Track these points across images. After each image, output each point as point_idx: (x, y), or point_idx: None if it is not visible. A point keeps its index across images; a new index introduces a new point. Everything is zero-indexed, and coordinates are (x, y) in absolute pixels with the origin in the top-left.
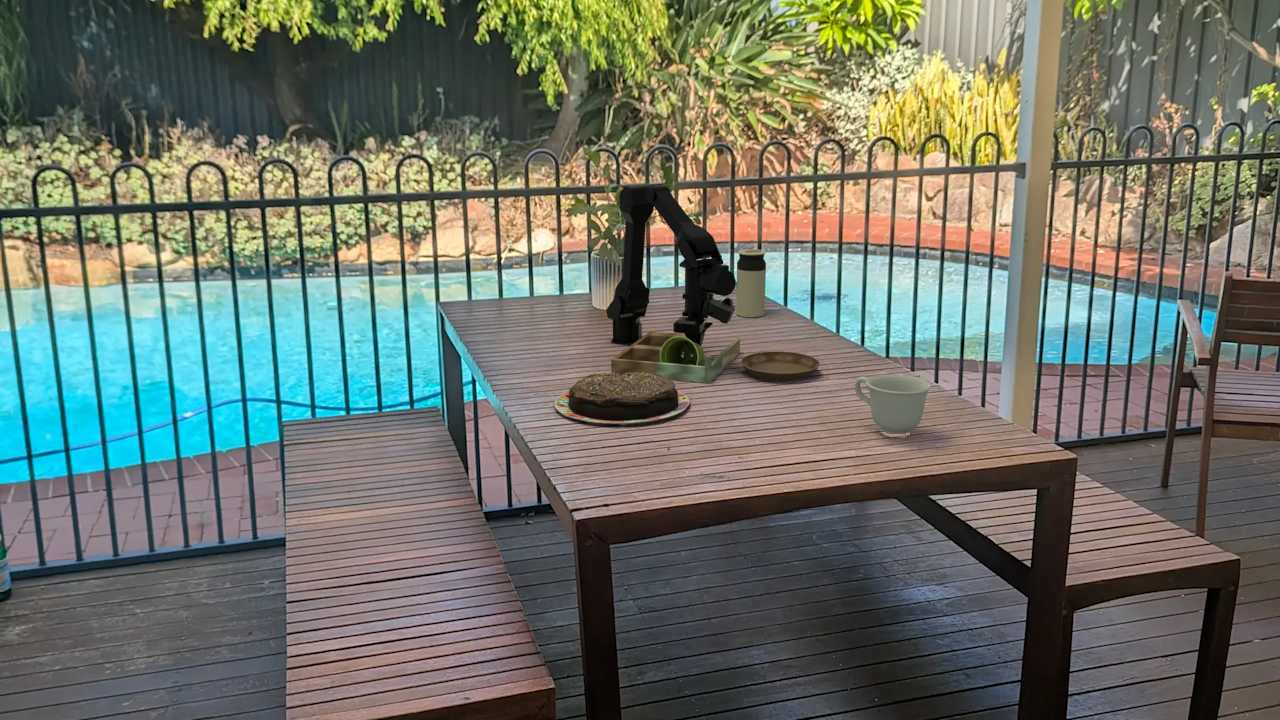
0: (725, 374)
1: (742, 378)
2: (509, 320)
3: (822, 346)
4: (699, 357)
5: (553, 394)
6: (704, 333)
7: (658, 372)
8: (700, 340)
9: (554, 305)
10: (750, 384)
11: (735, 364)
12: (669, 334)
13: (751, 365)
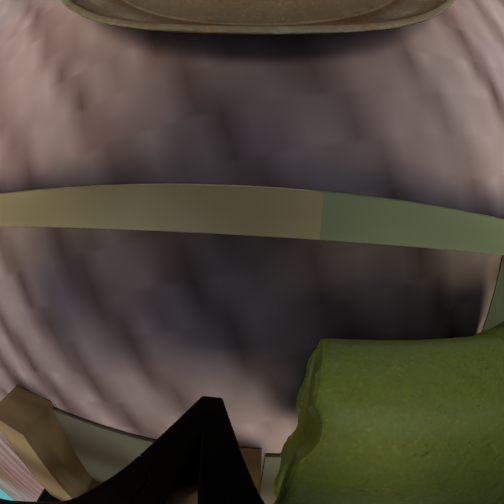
0: (384, 154)
1: (424, 59)
2: None
3: None
4: (491, 352)
5: None
6: (112, 499)
7: None
8: (255, 489)
9: (17, 498)
10: (482, 41)
11: (128, 139)
12: (34, 468)
13: (190, 22)
